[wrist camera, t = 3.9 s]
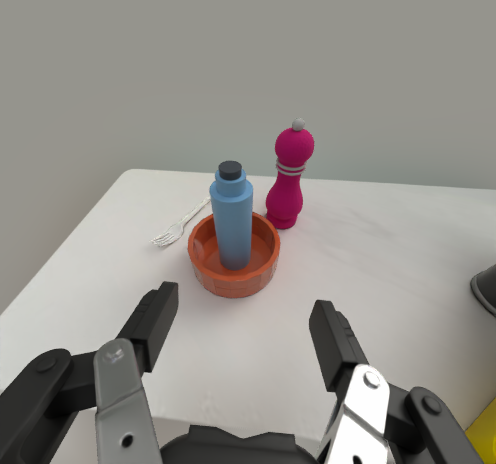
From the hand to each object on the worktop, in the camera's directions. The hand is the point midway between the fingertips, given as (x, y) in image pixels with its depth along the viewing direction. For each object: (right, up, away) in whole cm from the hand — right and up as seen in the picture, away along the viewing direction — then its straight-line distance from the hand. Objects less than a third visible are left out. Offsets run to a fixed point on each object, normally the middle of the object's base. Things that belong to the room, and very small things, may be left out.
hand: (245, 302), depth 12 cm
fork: (-12, +7, +33) cm, 35 cm away
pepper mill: (+7, +7, +33) cm, 34 cm away
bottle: (-2, 0, +25) cm, 25 cm away
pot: (-2, -1, +25) cm, 26 cm away
